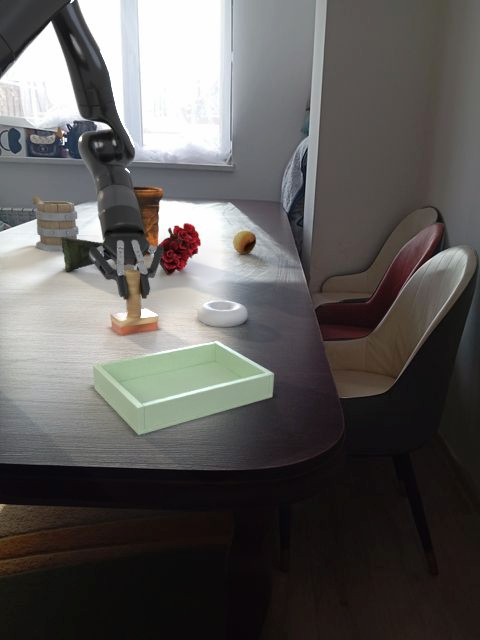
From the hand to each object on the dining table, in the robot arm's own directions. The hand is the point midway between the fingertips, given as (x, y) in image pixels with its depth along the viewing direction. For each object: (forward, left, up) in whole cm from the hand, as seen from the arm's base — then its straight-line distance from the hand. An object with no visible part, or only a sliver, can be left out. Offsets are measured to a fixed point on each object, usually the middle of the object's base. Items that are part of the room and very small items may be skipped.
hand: (135, 296), depth 90 cm
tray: (-5, -26, -7) cm, 27 cm away
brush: (0, +2, -7) cm, 7 cm away
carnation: (+19, +47, -7) cm, 51 cm away
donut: (+17, -1, -7) cm, 19 cm away
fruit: (+62, +57, -7) cm, 85 cm away
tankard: (+11, +92, -7) cm, 93 cm away
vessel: (+32, +71, -7) cm, 78 cm away
